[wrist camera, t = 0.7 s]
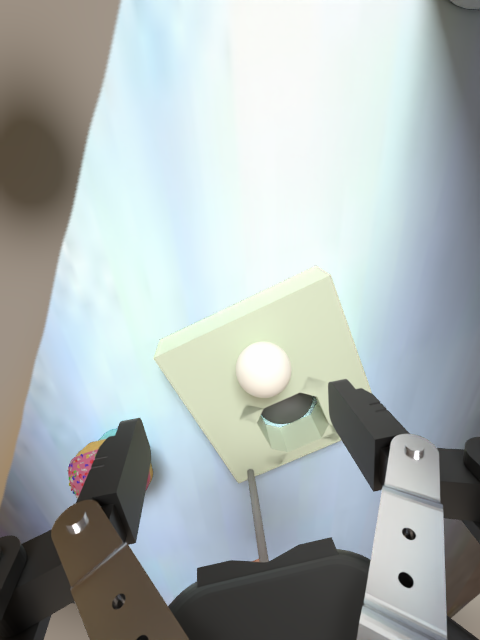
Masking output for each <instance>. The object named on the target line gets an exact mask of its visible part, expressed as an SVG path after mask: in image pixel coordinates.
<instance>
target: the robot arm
mask: <svg viewBox="0 0 480 640" xmlns="http://www.w3.org/2000/svg"><path fill="white" fill-rule="evenodd" d="M450 1H451V2H453V3H454V4H455V5H457V6H460V7H463V8H466V9H480V0H450ZM328 403H329V416H330V420H331V423H332V425H333V427H334V428H335V430H336V432H337V433H338V435H339V437H340V438H341V440H342V441H343V443H344V445H345V446H346V448H347V450H348V451H349V453H350V454H351V456H352V458H353V459H354V461H355V462H356V464H357V466H358V467H359V469H360V471H361V472H362V474H363V475H364V477H365V479H366V480H367V482H368V484H369V485H370V487H371V488H372V490H373V492H374V491H378V490H382V493H381V499H380V505H379V511H378V518H377V524H376V530H375V536H374V542H373V549H372V555H371V560H370V559H368V558H366V557H364V556H362V555H360V554H357V553H354V552H351V551H346V550H340V549H336V547H335V545H334V542H333V540H332V537H331V538H326V539H322V540H318V541H313V542H309V543H304V544H300V545H298V546H296V547H294V548H292V549H291V550H289V551H287V552H285V553H284V554H282V555H280V556H278V557H276V558H275V559H273V560H271V561H269V562H250V561H233V560H230V561H226V562H222V563H217V564H213V565H209V566H204V567H200V568H197V582H195V583H194V584H192V585H190V586H189V587H188V588H186V589H185V590H184V591H183V592H181V593H180V594H179V595H178V596H177V597H176V598H175V599H174V600H173V601H172V603H171V604H170V605H169V606H167V604H166V603H165V601H164V600H163V598H162V596H161V595H160V593H159V592H158V590H157V589H156V587H155V586H154V584H153V582H152V581H151V579H150V578H149V576H148V575H147V573H146V572H145V570H144V569H143V567H142V565H141V564H140V562H139V561H138V559H137V558H136V556H135V555H134V553H133V551H132V550H131V548H130V547H129V544H133V543H136V539H137V533H138V528H139V523H140V517H141V512H142V507H143V501H144V496H145V491H146V485H147V480H148V475H149V469H150V464H151V450H150V446H149V442H148V439H147V436H146V433H145V430H144V426H143V423H142V420H141V419H140V418H136V419H131V420H126V421H121V422H120V424H119V426H118V429H117V432H116V434H115V436H110V437H108V438H107V439H106V440H105V441H104V442H103V443H102V445H101V446H100V447H99V449H98V451H97V454H96V456H95V460H94V461H93V463H92V466H91V469H90V470H89V473H88V475H87V478H86V480H85V483H84V485H83V487H82V490H81V492H80V495H79V497H78V499H77V502H76V503H75V504H73V505H72V506H70V507H69V508H67V509H66V510H65V511H64V512H63V513H62V514H61V515H60V516H59V517H58V518H57V520H56V521H55V523H54V525H53V527H52V529H51V530H49V531H48V532H46V533H44V534H42V535H39V536H37V537H35V538H33V539H31V540H29V541H27V542H25V543H23V544H21V542H20V540H19V539H18V538H17V537H15V536H4V537H1V538H0V640H44V636H45V633H46V630H47V627H48V624H49V620H50V617H51V615H52V614H53V613H55V612H56V611H58V610H60V609H62V608H64V607H65V606H67V605H69V604H70V603H72V602H74V601H75V604H76V606H77V609H78V611H79V614H80V616H81V619H82V621H83V624H84V627H85V629H86V632H87V634H88V637H89V639H90V640H479V639H477V638H476V637H475V636H474V635H472V634H471V633H469V632H468V631H467V630H466V629H464V628H463V627H462V626H460V625H459V624H457V623H456V622H455V621H453V620H452V619H451V618H449V617H448V616H447V615H446V586H445V554H444V522H443V518H449V519H458V520H462V522H463V523H464V524H465V525H466V527H467V528H468V529H469V531H470V532H471V533H472V535H473V536H474V537H475V538H476V540H477V541H478V542H479V544H480V437H475V438H471V439H469V440H468V441H467V442H466V444H465V449H464V450H461V449H443V448H436V446H435V445H434V444H433V443H432V442H430V441H429V440H427V439H425V438H423V437H421V436H418V435H414V434H410V433H409V432H408V431H407V430H406V429H405V428H404V427H403V426H402V425H401V424H400V423H399V422H398V421H397V420H396V419H395V417H394V416H393V415H392V414H391V413H390V412H389V411H388V410H386V408H385V407H384V406H383V405H382V404H380V401H379V400H378V399H377V398H376V397H375V396H374V395H373V394H372V393H370V392H368V391H366V390H364V389H362V388H359V389H355V388H354V386H353V385H352V384H351V383H350V382H349V381H348V380H347V379H342V380H337V381H332V382H329V383H328Z"/></svg>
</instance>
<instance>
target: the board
mask: <svg viewBox="0 0 480 640" xmlns="http://www.w3.org/2000/svg"><path fill="white" fill-rule="evenodd" d="M256 342H271V343H274V344H276V345H278V346H279V347H281V348H282V349H283V350H284V351H285V352H286V354H287V355H288V357H289V360H290V362H291V368H292V372H291V378H290V381H289V383H288V385H287V386H286V388H285V389H284V390H283V391H282V392H281V393H279V394H278V395H276V396H273V397H270V398H258V397H255V396H252V395H250V394H249V393H247V392H246V391H245V390H244V389H243V388H242V387H241V385H240V384H239V382H238V380H237V376H236V362H237V359H238V357H239V355H240V354H241V352H242V351H243V350H244V349H245V348H246V347H248V346H249V345H251V344H253V343H256ZM154 360H155V361H156V363H157V364H158V366H159V367H160V369H161V370H162V372H163V373H164V375H165V376H166V378H167V379H168V380H169V382H170V383H171V385H172V386H173V388H174V389H175V391H176V392H177V394H178V395H179V397H180V398H181V400H182V401H183V403H184V404H185V405H186V407H187V408H188V410H189V411H190V413H191V414H192V416H193V417H194V419H195V420H196V422H197V423H198V425H199V426H200V428H201V429H202V431H203V432H204V433H205V435H206V436H207V438H208V439H209V441H210V442H211V444H212V445H213V447H214V448H215V450H216V451H217V453H218V454H219V456H220V457H221V458H222V460H223V461H224V463H225V464H226V466H227V467H228V469H229V470H230V472H231V473H232V475H233V476H234V478H235V479H236V481H237V482H238V483H241V482H243V481H246V480H248V483H249V490H250V497H251V504H252V512H253V519H254V526H255V533H256V540H257V548H258V555H259V559H257V560H255V561H252V562H269V560H268V554H267V548H266V542H265V536H264V530H263V524H262V518H261V512H260V506H259V499H258V493H257V487H256V481H255V476H257V475H260V474H262V473H265V472H267V471H269V470H272V469H274V468H276V467H279V466H281V465H284V464H286V463H288V462H291V461H293V460H295V459H298V458H300V457H303V456H305V455H307V454H310V453H312V452H314V451H317V450H319V449H322V448H324V447H326V446H329V445H331V444H333V443H336V442H338V441H341V438H340V437H339V435H338V433H337V432H336V430H335V428H334V427H333V425H332V423H331V420H330V416H329V403H328V383H329V382H332V381H337V380H342V379H347V380H348V381H349V382H350V383H351V384H352V385H353V386H354V388H355V389H359V388H362V389H364V390H366V391H368V392H370V393H372V392H371V389H370V386H369V384H368V381H367V378H366V375H365V372H364V369H363V366H362V364H361V361H360V358H359V355H358V352H357V349H356V346H355V343H354V341H353V338H352V335H351V332H350V329H349V326H348V323H347V320H346V318H345V315H344V312H343V309H342V306H341V303H340V300H339V297H338V295H337V292H336V289H335V286H334V283H333V280H332V277H331V275H330V274H328V273H327V272H325V271H324V270H322V269H321V268H319V267H318V266H314V267H312V268H310V269H308V270H305V271H303V272H301V273H299V274H297V275H295V276H293V277H291V278H289V279H286V280H284V281H282V282H280V283H278V284H276V285H274V286H272V287H270V288H267V289H265V290H263V291H261V292H259V293H257V294H255V295H253V296H251V297H248V298H246V299H244V300H242V301H240V302H238V303H236V304H234V305H232V306H229V307H227V308H225V309H223V310H221V311H219V312H217V313H215V314H213V315H210V316H208V317H206V318H204V319H202V320H200V321H198V322H196V323H194V324H191V325H189V326H187V327H185V328H183V329H181V330H179V331H177V332H175V333H172V334H170V335H168V336H166V337H164V338H162V339H160V340H159V343H158V346H157V349H156V352H155V355H154ZM312 396H315V398H316V400H317V403H316V405H315V407H314V409H313V411H312V413H311V415H308V416H306V417H304V418H301V417H303V416H304V415H305V414H306V413H307V412H308V410H309V409H310V406H311V404H312ZM261 414H262V416H263V417H264V418H266V419H267V420H268V421H270V422H273V423H277V424H286V423H290V424H287V425H285V426H283V427H280V428H279V427H275V426H271V425H266V424H265V422H264V421H263V419H262V417H261ZM300 418H301V419H300ZM298 419H299V420H298ZM296 420H297V421H296ZM291 422H292V423H291Z"/></svg>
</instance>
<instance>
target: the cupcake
mask: <svg viewBox="0 0 480 640" xmlns="http://www.w3.org/2000/svg"><path fill="white" fill-rule="evenodd" d="M116 432H117V429H113V430H110V431H108V432H106V433H105V434H104V435H103V436H102V437H101V438H100V439H99V440H98V441H95V442H91V443H89V444H88V445H87V446H86V447H85V448H83V449H82V450H81V451H79V452H78V454H77V455H76V457H74V458H73V459H72V460H71V462H70V464H69V467H68V475H69V481H70V483H69V486H71V491H72V490H73V491H74V492H73V494H75V495H76V498H78V497H79V495H80V492H81V490H82V487H83V485H84V483H85V480H86V478H87V475H88V473H89V470H90V469H91V466H92V463H93V461H94V460H95V456H96V454H97V451H98V449H99V447H100V446H101V445H102V443H103V442H104V441H105V440H106V439H107V438H108V437H110V436H115V434H116ZM152 477H153V469H152V465H151V464H150V469H149V475H148V480H147V485H146V490H147V488H148V485H149V484H150V482H151V480H152ZM70 484H71V485H70Z"/></svg>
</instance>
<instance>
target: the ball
mask: <svg viewBox="0 0 480 640" xmlns="http://www.w3.org/2000/svg"><path fill="white" fill-rule="evenodd" d="M291 372H292V368H291V362H290V360H289V357H288V355H287V354H286V352H285V351H284V350H283V349H282V348H281V347H279V346H278V345H276V344H274V343H271V342H256V343H253V344H251V345H249V346H248V347H246V348H245V349H244V350H243V351H242V352H241V354H240V355H239V357H238V359H237V362H236V376H237V380H238V382H239V384H240V385H241V387H242V388H243V389H244V390H245V391H246V392H247V393H249V394H250V395H252V396H255V397H258V398H270V397H273V396H276V395H278V394H279V393H281V392H282V391H283V390H284V389H285V388H286V386H287V385H288V383H289V381H290V378H291Z"/></svg>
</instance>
